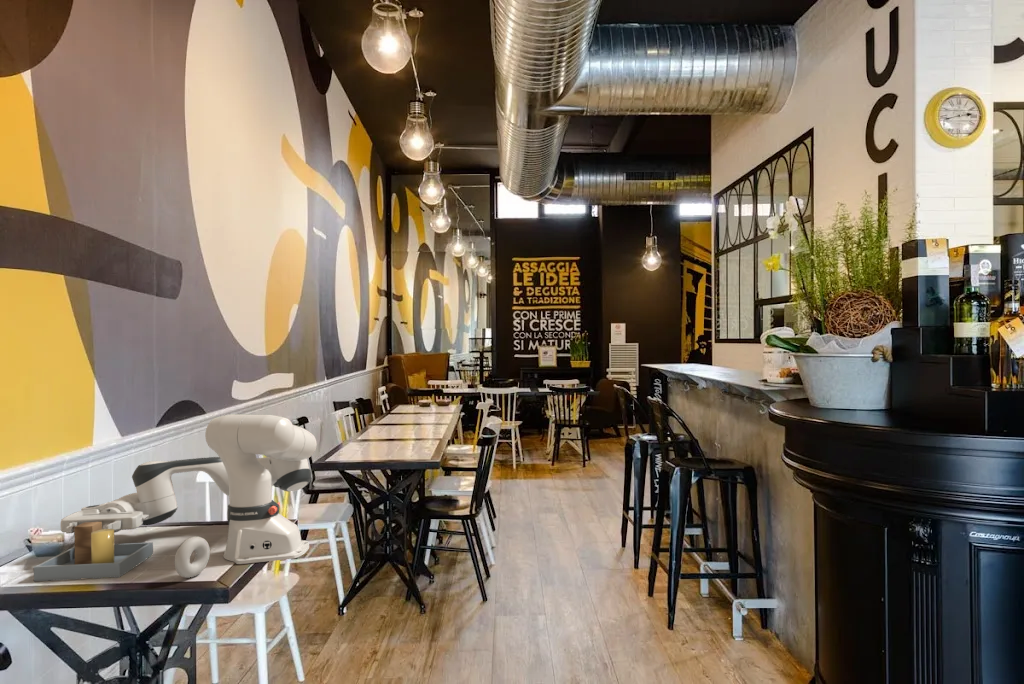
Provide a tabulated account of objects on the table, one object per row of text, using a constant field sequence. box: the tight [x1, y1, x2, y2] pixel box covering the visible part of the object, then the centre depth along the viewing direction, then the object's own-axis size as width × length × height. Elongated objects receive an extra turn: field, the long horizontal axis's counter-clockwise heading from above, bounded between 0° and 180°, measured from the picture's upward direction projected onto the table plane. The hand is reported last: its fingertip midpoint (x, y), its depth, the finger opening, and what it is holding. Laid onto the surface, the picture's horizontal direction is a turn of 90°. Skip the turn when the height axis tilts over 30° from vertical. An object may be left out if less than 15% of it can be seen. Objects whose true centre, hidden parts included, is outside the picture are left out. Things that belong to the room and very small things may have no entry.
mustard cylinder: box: [91, 529, 115, 564], centre depth 163 cm, size 5×5×10 cm
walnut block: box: [74, 522, 102, 564], centre depth 170 cm, size 4×4×10 cm
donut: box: [174, 535, 211, 579], centre depth 159 cm, size 10×4×10 cm, turn 162°
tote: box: [33, 541, 154, 582], centre depth 167 cm, size 20×18×4 cm
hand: (87, 529), depth 170 cm, fingers open, 8 cm apart
